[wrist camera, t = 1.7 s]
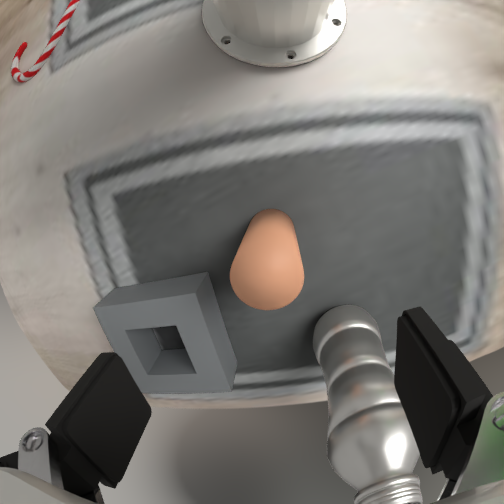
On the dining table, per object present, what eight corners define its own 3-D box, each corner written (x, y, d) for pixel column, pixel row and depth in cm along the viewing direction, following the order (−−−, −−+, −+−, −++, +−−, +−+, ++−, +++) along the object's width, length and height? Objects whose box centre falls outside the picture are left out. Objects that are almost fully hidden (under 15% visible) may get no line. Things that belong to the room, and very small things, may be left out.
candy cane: (97, -15, 17) (24, 91, 21) (102, -11, 18) (31, 92, 22) (67, -23, 16) (4, 72, 20) (72, -20, 17) (10, 73, 21)
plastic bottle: (315, 357, 29) (334, 537, 10) (304, 304, 27) (326, 513, 8) (373, 343, 28) (433, 510, 9) (369, 288, 26) (463, 470, 7)
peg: (243, 214, 25) (221, 249, 15) (289, 204, 24) (296, 235, 15) (254, 257, 26) (239, 315, 16) (298, 248, 25) (309, 303, 16)
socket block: (114, 288, 28) (93, 307, 24) (208, 271, 27) (195, 293, 22) (151, 368, 32) (137, 392, 27) (237, 363, 30) (231, 391, 26)
